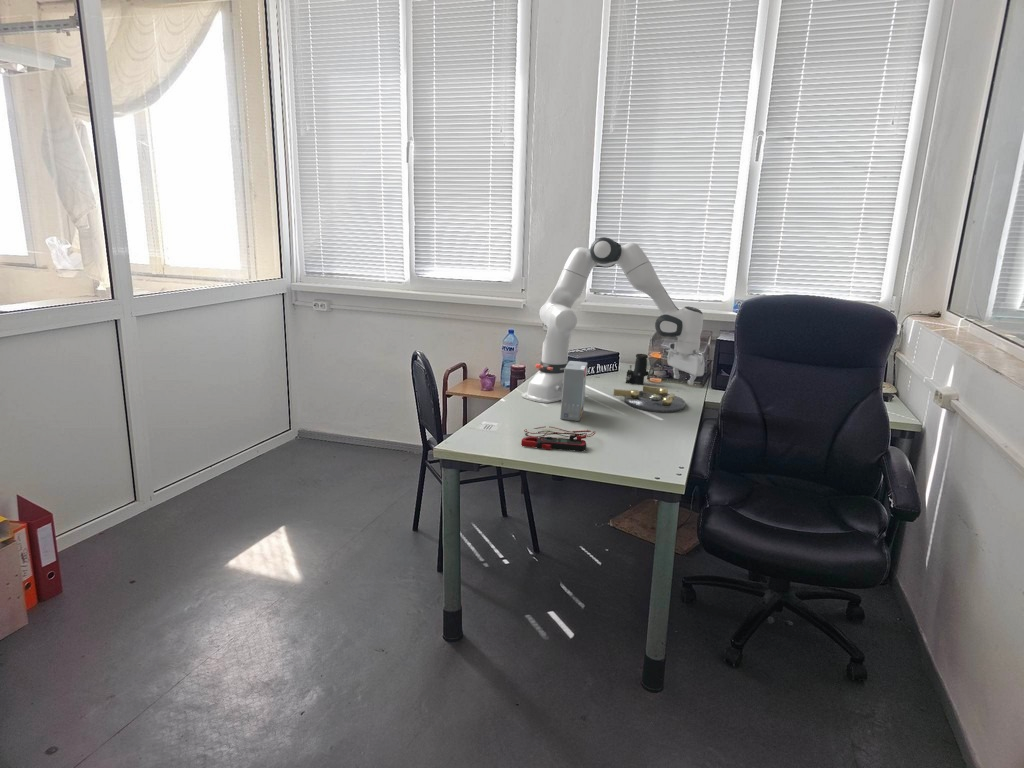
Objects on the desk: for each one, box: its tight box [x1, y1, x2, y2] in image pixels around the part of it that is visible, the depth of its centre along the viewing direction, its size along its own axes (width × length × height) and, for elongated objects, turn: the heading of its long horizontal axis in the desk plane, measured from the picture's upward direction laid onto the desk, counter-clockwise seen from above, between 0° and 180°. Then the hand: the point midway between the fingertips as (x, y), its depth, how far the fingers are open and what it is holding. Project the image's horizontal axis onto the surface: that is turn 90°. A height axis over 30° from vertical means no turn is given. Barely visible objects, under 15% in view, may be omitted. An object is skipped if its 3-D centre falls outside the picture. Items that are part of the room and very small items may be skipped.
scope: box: [625, 353, 650, 386], centre depth 298 cm, size 8×14×10 cm
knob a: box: [642, 385, 669, 396], centre depth 274 cm, size 11×4×3 cm, turn 68°
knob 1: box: [612, 388, 640, 398], centre depth 268 cm, size 11×4×3 cm, turn 83°
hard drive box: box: [559, 360, 588, 422], centre depth 245 cm, size 16×8×20 cm, turn 168°
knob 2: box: [663, 392, 675, 406], centre depth 262 cm, size 11×4×3 cm, turn 153°
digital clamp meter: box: [520, 426, 596, 452], centre depth 219 cm, size 23×4×25 cm
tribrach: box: [624, 390, 686, 414], centre depth 267 cm, size 25×25×4 cm
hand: (683, 381), depth 256 cm, fingers open, 8 cm apart
